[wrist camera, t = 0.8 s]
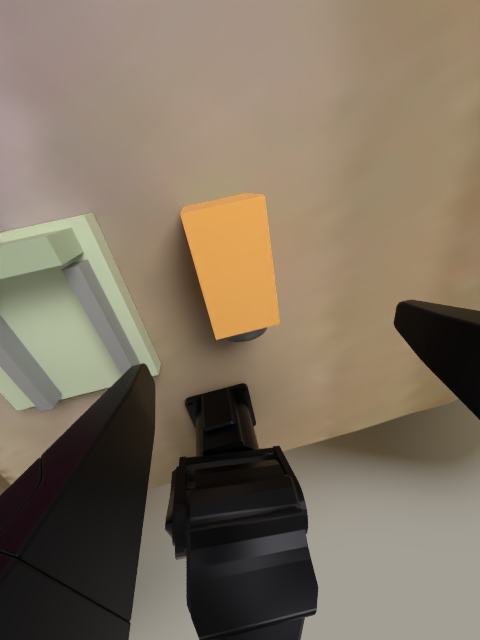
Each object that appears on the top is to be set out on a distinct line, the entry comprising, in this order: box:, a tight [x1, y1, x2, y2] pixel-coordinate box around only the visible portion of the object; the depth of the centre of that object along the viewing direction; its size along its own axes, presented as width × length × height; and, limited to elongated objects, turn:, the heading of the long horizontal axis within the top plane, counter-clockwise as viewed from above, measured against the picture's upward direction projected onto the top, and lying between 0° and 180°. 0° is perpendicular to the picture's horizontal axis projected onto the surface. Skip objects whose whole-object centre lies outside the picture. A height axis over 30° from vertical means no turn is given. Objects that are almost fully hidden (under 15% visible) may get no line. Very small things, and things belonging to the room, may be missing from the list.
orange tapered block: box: [180, 193, 280, 342], centre depth 17 cm, size 9×4×5 cm, turn 11°
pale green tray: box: [0, 213, 161, 412], centre depth 17 cm, size 13×12×4 cm
